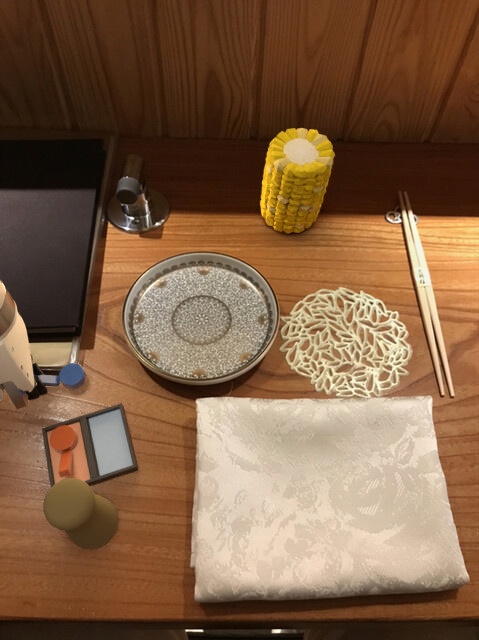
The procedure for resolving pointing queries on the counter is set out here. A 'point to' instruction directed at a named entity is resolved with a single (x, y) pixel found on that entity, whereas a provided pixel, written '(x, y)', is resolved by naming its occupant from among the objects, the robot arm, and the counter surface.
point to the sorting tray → (95, 447)
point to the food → (295, 179)
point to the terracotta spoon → (64, 447)
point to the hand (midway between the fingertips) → (34, 388)
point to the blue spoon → (66, 377)
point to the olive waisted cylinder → (81, 513)
